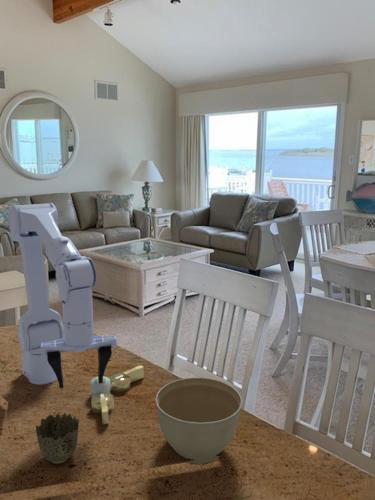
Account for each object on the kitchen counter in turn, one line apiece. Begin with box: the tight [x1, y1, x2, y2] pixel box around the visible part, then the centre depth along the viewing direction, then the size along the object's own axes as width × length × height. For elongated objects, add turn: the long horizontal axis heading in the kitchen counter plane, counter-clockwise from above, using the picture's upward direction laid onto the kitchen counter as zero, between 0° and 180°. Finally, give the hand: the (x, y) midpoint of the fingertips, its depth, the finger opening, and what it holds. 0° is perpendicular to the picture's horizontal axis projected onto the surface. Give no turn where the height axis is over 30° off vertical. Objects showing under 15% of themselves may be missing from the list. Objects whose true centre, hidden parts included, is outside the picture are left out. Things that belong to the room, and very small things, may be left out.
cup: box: [35, 413, 80, 464], centre depth 83 cm, size 8×7×8 cm
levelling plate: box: [89, 376, 112, 398], centre depth 105 cm, size 17×17×6 cm
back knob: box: [109, 365, 145, 393], centre depth 110 cm, size 9×5×3 cm, turn 135°
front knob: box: [90, 393, 115, 425], centre depth 98 cm, size 9×5×3 cm, turn 15°
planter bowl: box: [155, 377, 243, 465], centre depth 87 cm, size 16×16×11 cm
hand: (81, 383), depth 93 cm, fingers open, 7 cm apart
